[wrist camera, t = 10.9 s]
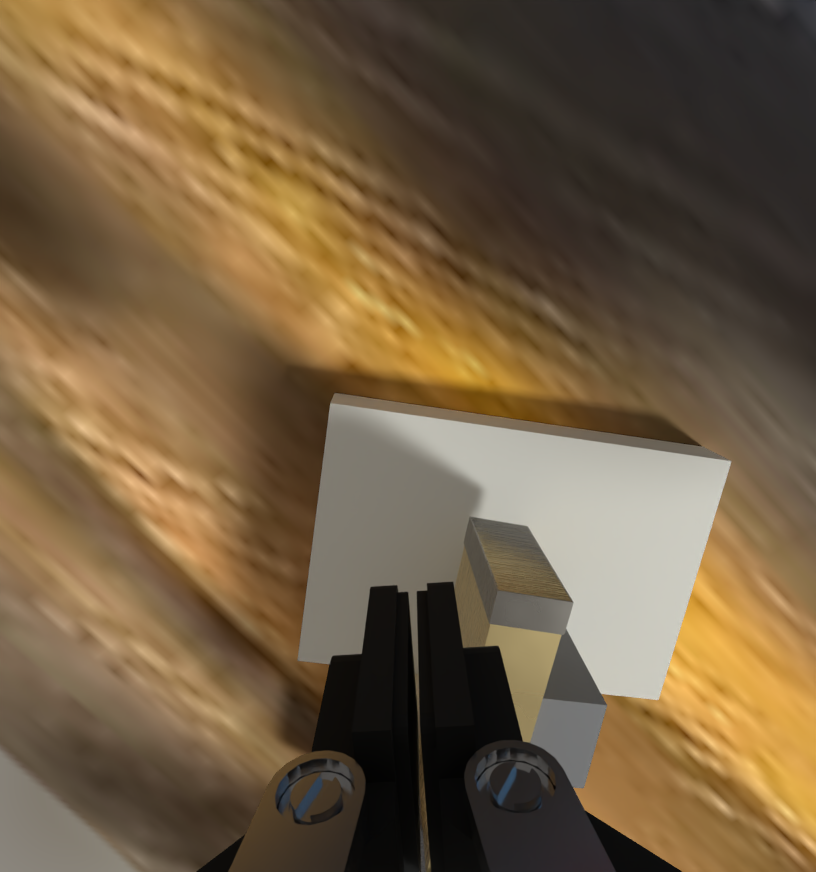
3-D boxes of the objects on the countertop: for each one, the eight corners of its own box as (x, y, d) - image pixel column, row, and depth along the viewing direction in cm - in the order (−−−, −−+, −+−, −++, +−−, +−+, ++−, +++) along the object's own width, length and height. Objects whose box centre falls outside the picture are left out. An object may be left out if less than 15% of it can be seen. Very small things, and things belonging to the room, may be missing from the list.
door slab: (334, 392, 23) (310, 449, 15) (703, 446, 24) (857, 525, 16) (303, 631, 25) (269, 786, 17) (638, 669, 26) (744, 829, 19)
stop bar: (465, 810, 24) (488, 959, 19) (387, 801, 24) (389, 949, 18) (541, 526, 21) (595, 608, 16) (453, 512, 21) (478, 590, 15)
